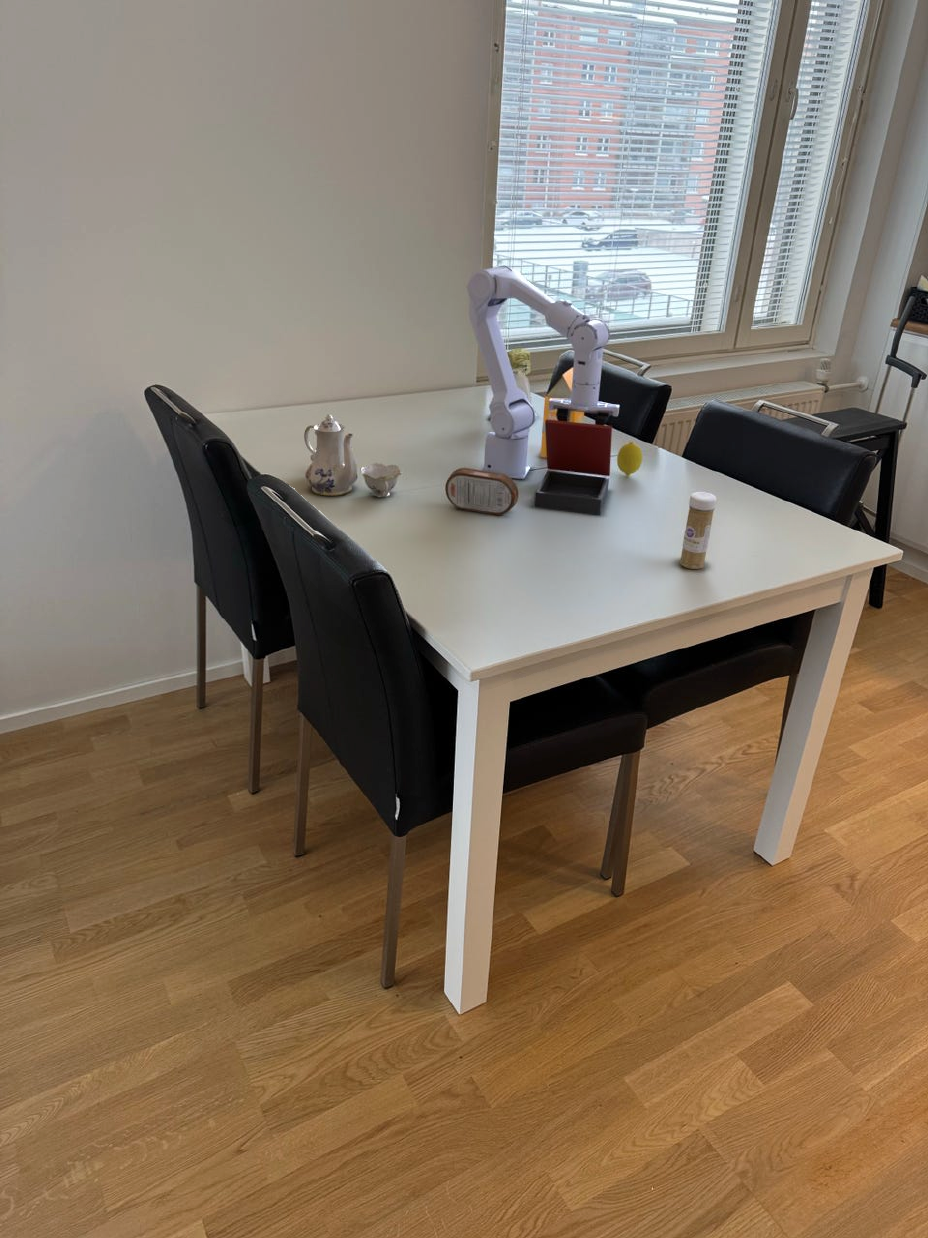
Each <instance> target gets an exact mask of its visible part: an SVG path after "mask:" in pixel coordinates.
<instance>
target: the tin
mask: <svg viewBox="0 0 928 1238" xmlns="http://www.w3.org/2000/svg"><path fill="white" fill-rule="evenodd" d="M444 487H445V489H444V490H445V495H446V498H447V499H448V501H449V502H450V504H451V505H453V506H454V507H456V508H458V509H460V510H465V511H471V512H476V513H481V514H487V515H488V514H489V515H493V516H502V515H505V514H506V513H509V512H510V511H511V510H512V508H514V507H515V505H516V504H517V502H518V499H519V488H518V487H517V484H516V482H515V481H514V480H513V478H510V477H508V476H506V475H504V474H501V473H495V472H489V471H484V470H482V469H476V468H470V467H461V468H457V469H455V470H454V471H453V472H452V473H451V474H450V476H449V477H448V478H447V480H446V482H445V486H444Z"/></svg>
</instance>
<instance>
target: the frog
mask: <svg viewBox="0 0 928 1238" xmlns="http://www.w3.org/2000/svg"><path fill="white" fill-rule="evenodd" d="M507 354H508V358H509V361H510V364H511V368H512V371H513V374H514V378H515V381H516V384H517V387H518V388H519V389H520V390H521V391H523V392H524V393H525V394H526V396H527V399H528V401H529V403H530V404H531V405H532V397H531V387H530V381H529V379H528V377H527V376H526V375H528V374H530V373H531V372H532V363H531V352H530V351H529V350H528V349H526V348H513V349H511V350H509V351H507ZM535 414H536V417H538V416H539V414H538V413H537V412H536V410H535ZM489 416H490V417H491V412H490V413H489Z"/></svg>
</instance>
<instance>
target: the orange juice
mask: <svg viewBox="0 0 928 1238" xmlns="http://www.w3.org/2000/svg"><path fill="white" fill-rule="evenodd" d="M573 368H574V366H573V367H572V366H571V368H570V369H568V370H567V371H565V372H564V373H562V376H561V377H560V378H559V380H558V381H557V382H556V383H555V384H554V386H553V387H552V388H551V389H550V391H549V392H548V393H547V394H546V395H545V396H544V405H543V406H544V407H543V417H542V419H543V420H542V428H541V429H542V430H541V433H542V434H541V445H540V455H539V456H540V458H543V459H547V452H546V430H545V420H546V419H547V420H557V421H558V419H557V416H556V413H557V409H554V410H549V409H548V408H549V400H550V399H551V398H553V399H571V390H572V379H573ZM584 420H585V412H577V411H571V414H570V421H569V422H576V423H584Z"/></svg>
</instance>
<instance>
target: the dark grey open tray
mask: <svg viewBox="0 0 928 1238" xmlns="http://www.w3.org/2000/svg"><path fill="white" fill-rule="evenodd" d="M609 483H610V476H603V475H595V474H586V473H577V472H568V471H559V470H551V469H547V470H546V472H545V474H544V475H543V478H542V480H541V481H540V483H539V485H538V487H537V488H536V490H535V493H534V506H533V507H534V508H537V509H538V508H539V509H547V510H553V511H554V510H555V511H563V512H569V513H578V514H579V513H580V514H586V515H596V516H601V512H602V509H603V508H604V503H605V500H606V497H607V496H608V495H607V494H608V491H609Z"/></svg>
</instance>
